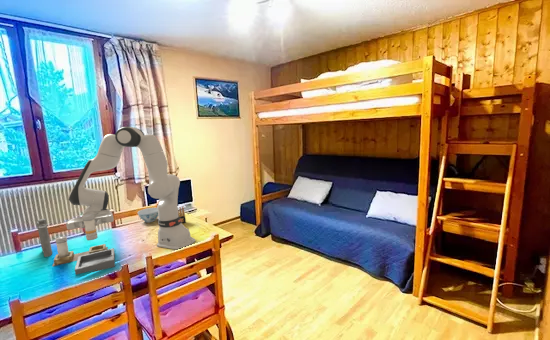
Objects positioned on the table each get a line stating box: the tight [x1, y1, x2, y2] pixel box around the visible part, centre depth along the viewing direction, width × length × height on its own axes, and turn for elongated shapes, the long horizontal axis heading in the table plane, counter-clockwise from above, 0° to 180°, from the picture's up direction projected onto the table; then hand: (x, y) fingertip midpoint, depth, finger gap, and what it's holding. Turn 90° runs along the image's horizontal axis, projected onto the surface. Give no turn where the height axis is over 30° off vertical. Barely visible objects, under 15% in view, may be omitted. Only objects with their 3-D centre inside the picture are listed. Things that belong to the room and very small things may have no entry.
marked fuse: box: [83, 214, 99, 241], centre depth 139 cm, size 5×5×12 cm
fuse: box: [55, 236, 70, 258], centre depth 146 cm, size 5×5×12 cm
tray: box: [74, 248, 116, 275], centre depth 142 cm, size 16×16×4 cm
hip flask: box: [36, 218, 53, 258], centre depth 157 cm, size 16×4×20 cm, turn 44°
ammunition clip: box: [178, 206, 187, 224], centre depth 194 cm, size 11×2×12 cm, turn 122°
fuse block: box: [51, 243, 109, 267], centre depth 151 cm, size 24×10×4 cm, turn 119°
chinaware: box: [137, 207, 159, 223], centre depth 204 cm, size 15×15×8 cm
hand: (89, 225), depth 138 cm, fingers closed on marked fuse, 4 cm apart
